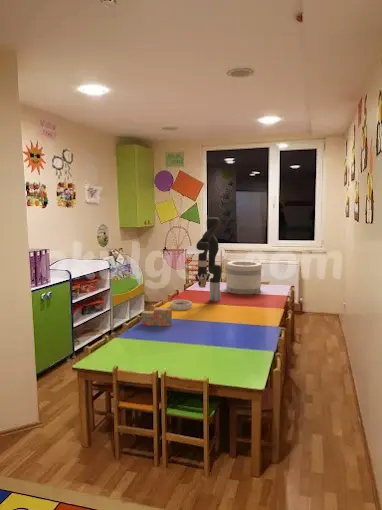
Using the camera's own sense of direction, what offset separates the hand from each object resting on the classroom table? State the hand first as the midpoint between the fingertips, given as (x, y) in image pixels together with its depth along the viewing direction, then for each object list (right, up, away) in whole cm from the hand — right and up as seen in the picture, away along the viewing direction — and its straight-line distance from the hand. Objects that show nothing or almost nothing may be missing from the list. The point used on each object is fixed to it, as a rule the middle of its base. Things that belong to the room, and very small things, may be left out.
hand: (202, 285), depth 354 cm
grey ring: (-18, -19, +4) cm, 26 cm away
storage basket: (+44, -10, +71) cm, 84 cm away
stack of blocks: (-35, -26, -44) cm, 62 cm away
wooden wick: (0, -1, 0) cm, 1 cm away
